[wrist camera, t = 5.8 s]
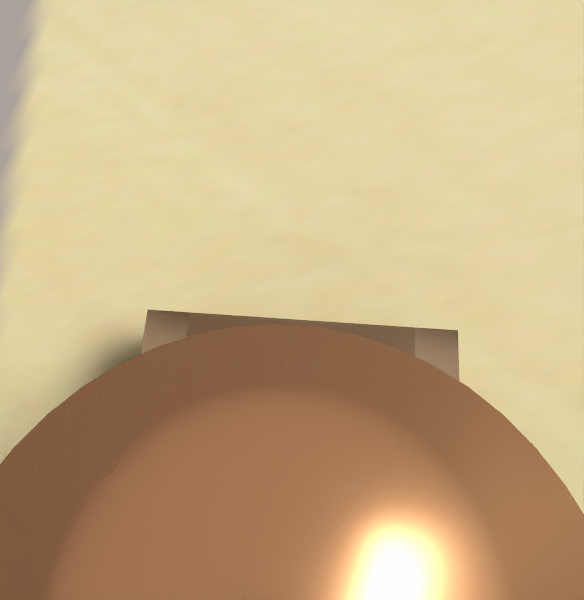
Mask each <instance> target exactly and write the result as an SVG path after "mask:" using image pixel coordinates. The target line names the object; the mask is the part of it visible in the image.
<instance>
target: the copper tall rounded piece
mask: <svg viewBox="0 0 584 600" xmlns="http://www.w3.org/2000/svg"><path fill="white" fill-rule="evenodd" d="M0 600H584V514H583V513H582V511H581V510H580V508H579V506H578V505H577V503H576V502H575V500H574V498H573V497H572V495H571V494H570V492H569V490H568V489H567V487H566V486H565V484H564V483H563V482H562V481H561V479H560V478H559V477H558V475H557V474H556V473H555V472H554V470H553V469H552V468H551V467H550V465H549V464H548V463H547V462H546V460H545V459H544V458H543V456H542V455H541V454H540V453H539V451H538V450H537V449H536V448H535V447H534V446H533V445H532V444H531V443H530V442H529V441H528V440H527V439H526V438H525V437H524V436H523V435H522V433H521V432H520V431H519V430H518V429H517V428H516V427H515V426H514V425H513V424H512V423H511V422H510V421H509V420H508V419H507V418H506V417H505V416H504V415H503V414H501V413H500V412H499V411H498V410H496V409H495V408H494V407H493V406H491V405H490V404H489V403H488V402H486V401H485V400H484V399H483V398H481V397H480V396H479V395H478V394H476V393H475V392H474V391H473V390H471V389H470V388H469V387H467V386H466V385H464V384H463V383H461V382H459V381H458V380H456V379H455V378H453V377H451V376H450V375H448V374H447V373H445V372H443V371H442V370H440V369H439V368H437V367H435V366H434V365H432V364H430V363H428V362H426V361H424V360H422V359H419V358H417V357H415V356H413V355H411V354H409V353H407V352H404V351H402V350H400V349H398V348H396V347H394V346H390V345H387V344H384V343H381V342H378V341H375V340H372V339H369V338H366V337H363V336H360V335H356V334H352V333H347V332H342V331H337V330H331V329H326V328H321V327H315V326H299V325H283V324H268V325H252V326H237V327H231V328H226V329H221V330H215V331H210V332H205V333H200V334H195V335H192V336H189V337H186V338H183V339H180V340H177V341H173V342H170V343H167V344H164V345H161V346H158V347H156V348H153V349H151V350H149V351H147V352H145V353H143V354H140V355H138V356H136V357H134V358H132V359H130V360H128V361H125V362H123V363H121V364H119V365H117V366H116V367H114V368H112V369H111V370H109V371H108V372H106V373H104V374H103V375H101V376H99V377H98V378H96V379H95V380H93V381H91V382H90V383H88V384H86V385H85V386H83V387H82V388H81V389H79V390H78V391H77V392H75V393H74V394H73V395H72V396H70V397H69V398H68V399H67V400H65V401H64V402H63V403H61V404H60V405H59V406H58V407H56V408H55V409H54V410H53V411H51V412H50V413H49V414H48V415H46V416H45V417H44V418H43V419H42V420H41V421H40V422H39V423H38V424H37V425H36V426H35V427H34V428H33V429H32V430H31V431H30V432H29V433H28V434H27V435H26V436H25V437H24V438H23V439H22V440H21V441H20V442H19V443H18V444H17V445H16V446H15V447H14V448H13V449H12V451H11V452H10V453H9V454H8V456H7V457H6V458H5V459H4V460H3V462H2V463H1V464H0Z"/></svg>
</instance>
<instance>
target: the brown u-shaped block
mask: <svg viewBox="0 0 584 600" xmlns="http://www.w3.org/2000/svg"><path fill="white" fill-rule="evenodd" d="M268 324H283V325H299V326H315V327H321V328H326V329H331V330H337V331H342V332H347V333H352V334H356V335H360V336H363V337H366V338H369V339H372V340H375V341H378V342H381V343H384V344H387V345H390V346H394V347H396V348H398V349H400V350H402V351H404V352H407V353H409V354H411V355H413V356H415V357H417V358H419V359H422V360H424V361H426V362H428V363H430V364H432V365H434V366H435V367H437V368H439V369H440V370H442V371H443V372H445V373H447V374H448V375H450V376H451V377H453V378H455V379H456V380H458V381H459V357H458V331H457V330H442V329H427V328H413V327H398V326H383V325H368V324H353V323H338V322H323V321H308V320H293V319H278V318H263V317H248V316H233V315H218V314H203V313H188V312H173V311H158V310H148V312H147V318H146V324H145V330H144V336H143V342H142V348H141V354H143V353H145V352H147V351H149V350H151V349H153V348H156V347H158V346H161V345H164V344H167V343H170V342H173V341H177V340H180V339H183V338H186V337H189V336H192V335H195V334H200V333H205V332H210V331H215V330H221V329H226V328H231V327H237V326H252V325H268Z"/></svg>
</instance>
